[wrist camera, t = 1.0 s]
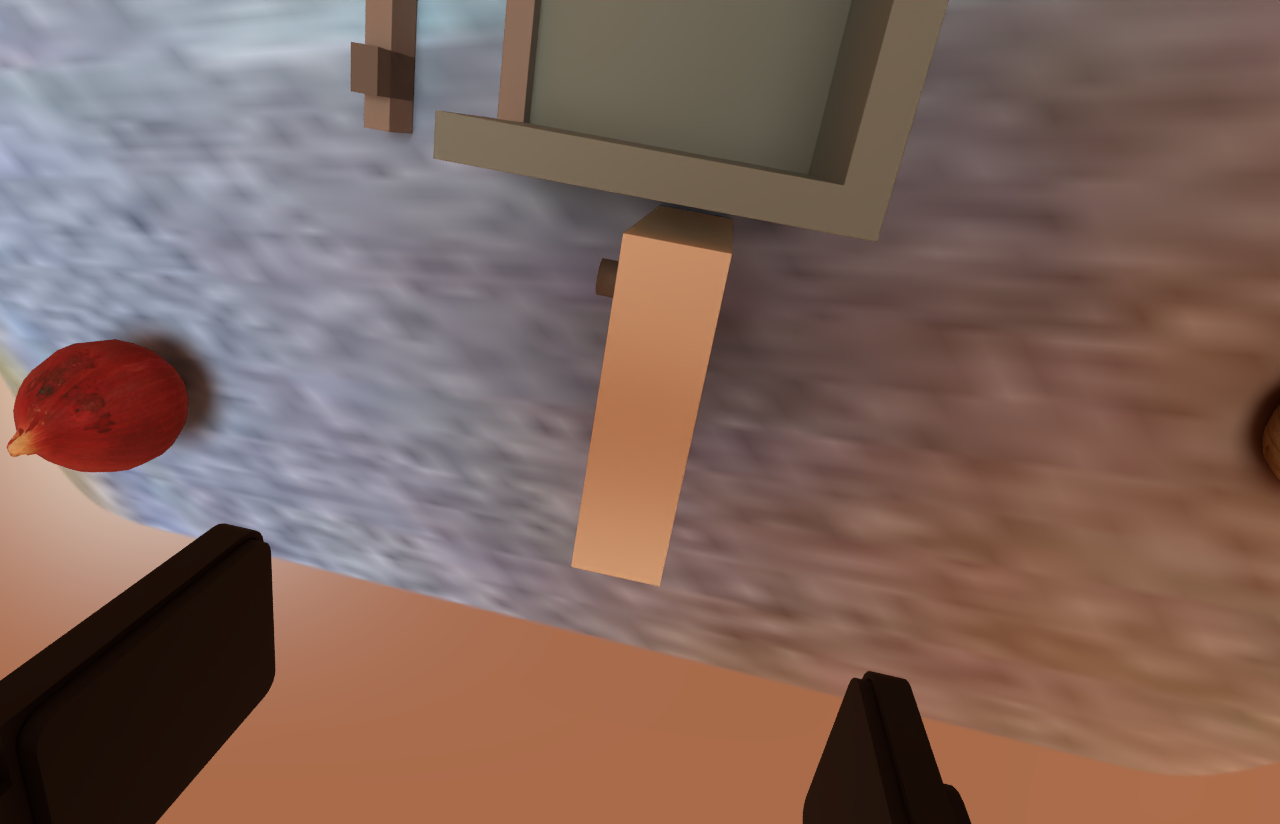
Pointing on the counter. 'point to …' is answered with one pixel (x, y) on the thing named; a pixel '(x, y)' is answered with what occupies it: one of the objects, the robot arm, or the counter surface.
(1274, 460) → the fennel bulb
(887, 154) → the cabinet
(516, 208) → the counter surface
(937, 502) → the counter surface
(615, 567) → the door
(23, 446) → the onion
